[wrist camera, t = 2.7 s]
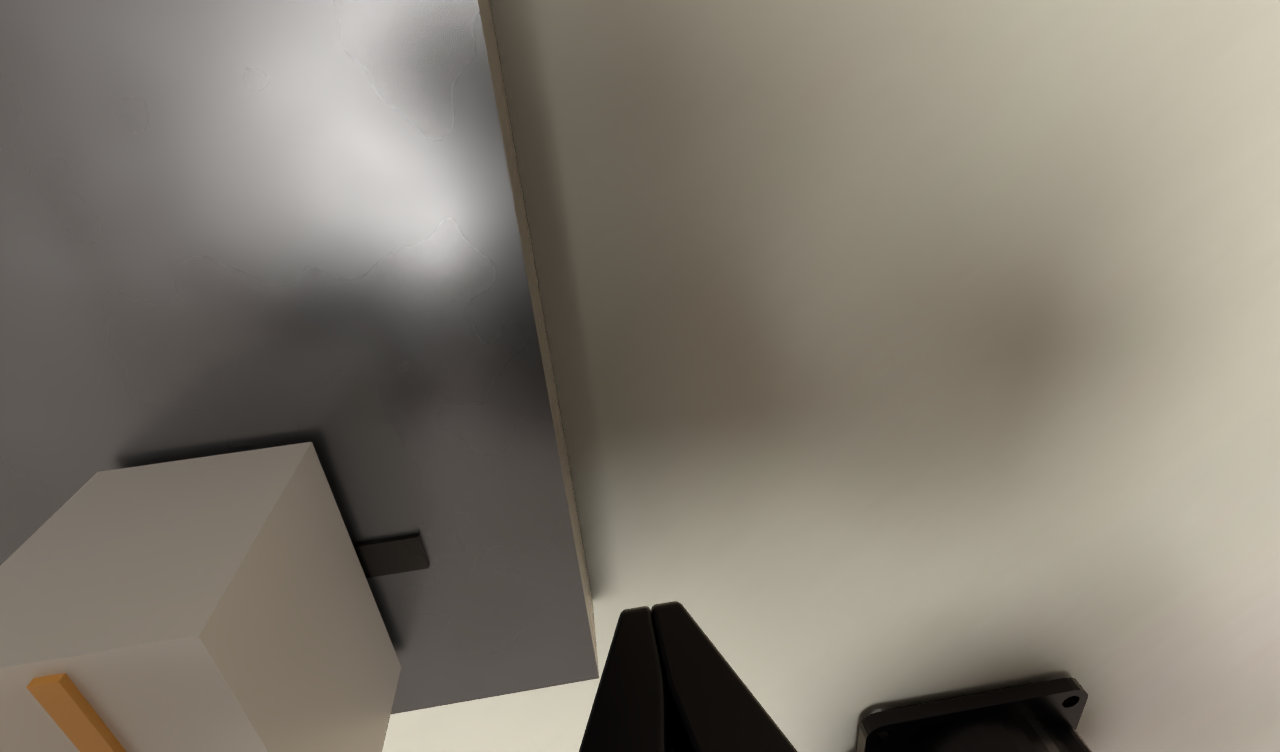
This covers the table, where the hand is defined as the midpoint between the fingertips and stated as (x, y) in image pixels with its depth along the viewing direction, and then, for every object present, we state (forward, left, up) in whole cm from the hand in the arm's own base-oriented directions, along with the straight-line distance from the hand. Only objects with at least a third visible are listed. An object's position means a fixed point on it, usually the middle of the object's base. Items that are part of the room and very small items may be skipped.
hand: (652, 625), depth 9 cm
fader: (+6, 0, -2) cm, 6 cm away
